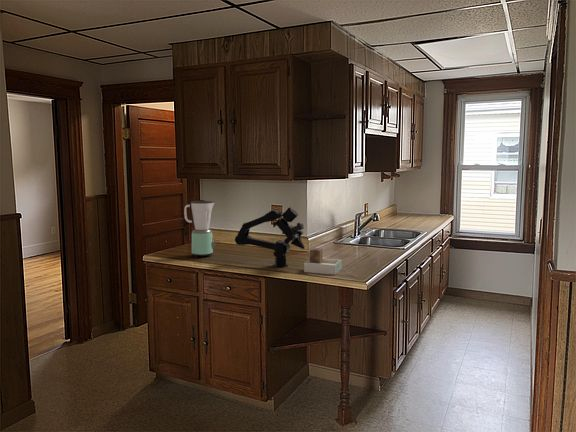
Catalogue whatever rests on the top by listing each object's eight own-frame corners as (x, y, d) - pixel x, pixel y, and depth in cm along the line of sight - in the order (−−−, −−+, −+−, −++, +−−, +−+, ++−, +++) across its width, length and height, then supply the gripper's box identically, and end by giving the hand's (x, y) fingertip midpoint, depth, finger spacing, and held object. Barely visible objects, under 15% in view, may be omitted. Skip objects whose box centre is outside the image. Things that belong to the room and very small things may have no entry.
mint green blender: (215, 253, 312) (214, 199, 308) (216, 257, 299) (215, 201, 295) (185, 254, 309) (184, 199, 305) (185, 258, 296) (183, 201, 292)
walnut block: (309, 264, 268) (309, 249, 267) (312, 261, 274) (312, 247, 273) (319, 264, 266) (319, 250, 265) (322, 262, 272) (322, 248, 271)
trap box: (304, 271, 262) (304, 262, 262) (311, 266, 276) (311, 257, 276) (335, 274, 257) (335, 265, 256) (341, 268, 271) (341, 259, 270)
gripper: (290, 220, 262) (309, 241, 260) (300, 216, 280) (318, 236, 278) (276, 233, 266) (295, 255, 263) (287, 229, 283) (304, 249, 281)
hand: (303, 248), depth 271 cm, fingers closed
